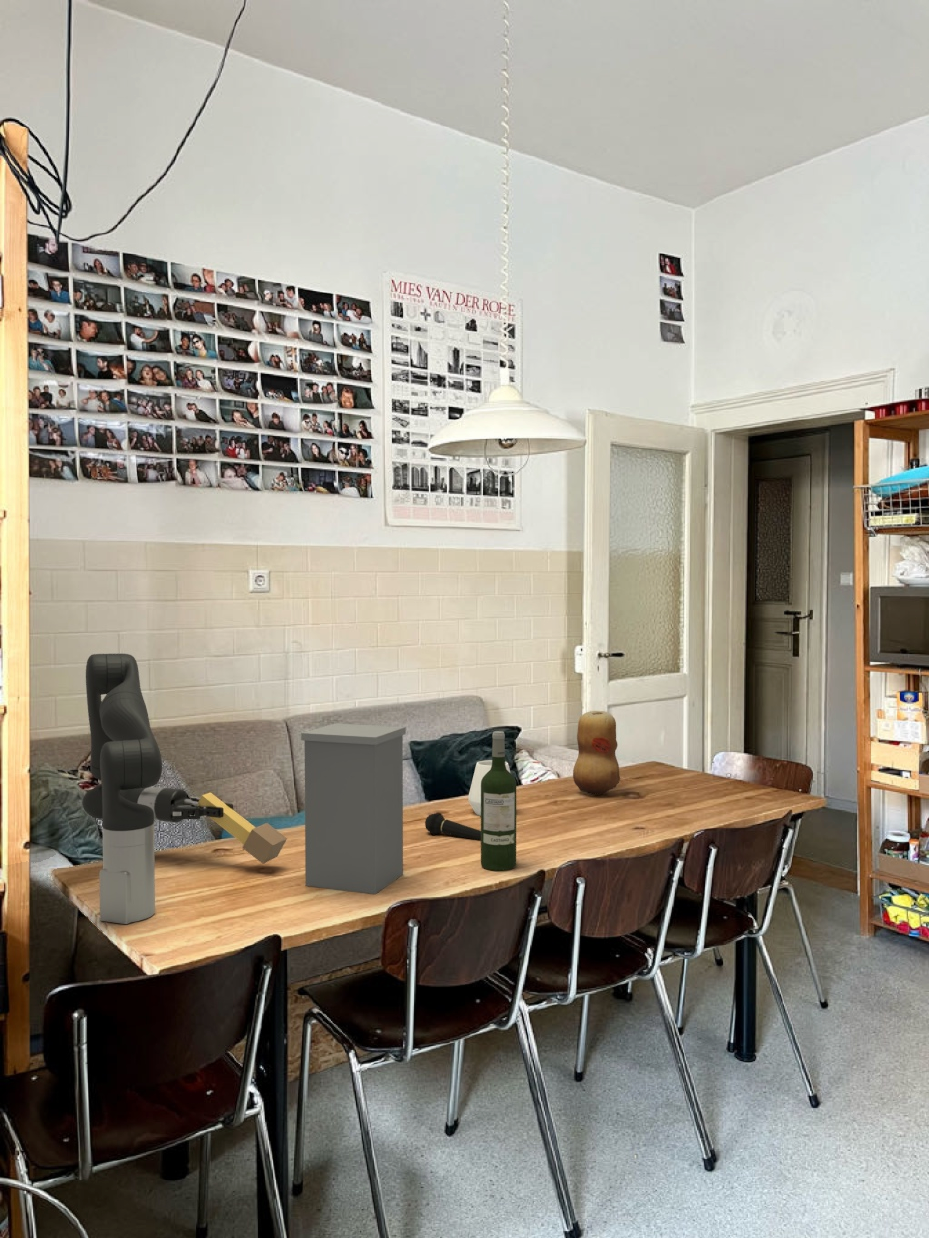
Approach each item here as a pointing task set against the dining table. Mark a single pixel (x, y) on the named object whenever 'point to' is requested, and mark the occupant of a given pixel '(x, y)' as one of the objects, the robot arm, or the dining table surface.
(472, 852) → the dining table surface
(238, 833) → the peg
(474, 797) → the cup
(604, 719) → the butternut squash
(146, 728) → the robot arm
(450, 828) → the microphone
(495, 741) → the wine bottle
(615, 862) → the dining table surface
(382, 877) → the stand
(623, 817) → the dining table surface
